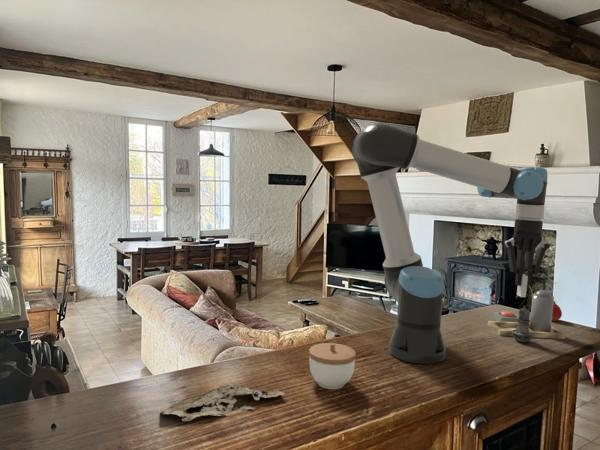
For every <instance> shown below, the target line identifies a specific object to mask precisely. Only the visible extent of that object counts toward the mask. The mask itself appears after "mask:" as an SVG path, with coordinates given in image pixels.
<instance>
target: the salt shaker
mask: <svg viewBox="0 0 600 450" xmlns="http://www.w3.org/2000/svg"><path fill="white" fill-rule="evenodd" d="M526 307H527V306H526V305H523V308H519V309H518V316H519V318H518V319H517V321H518V326H517V329H516V330H512V333H513V336H512V338H514V340H516V341H517V342H519V343H520V342H521V343H528V342H530V341H531V340H532V338H533V337H532V336H533V333H531V332H530V331H529V323H530V315H531V312H530V311H531V310H529V309H528V308H526Z"/></svg>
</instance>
